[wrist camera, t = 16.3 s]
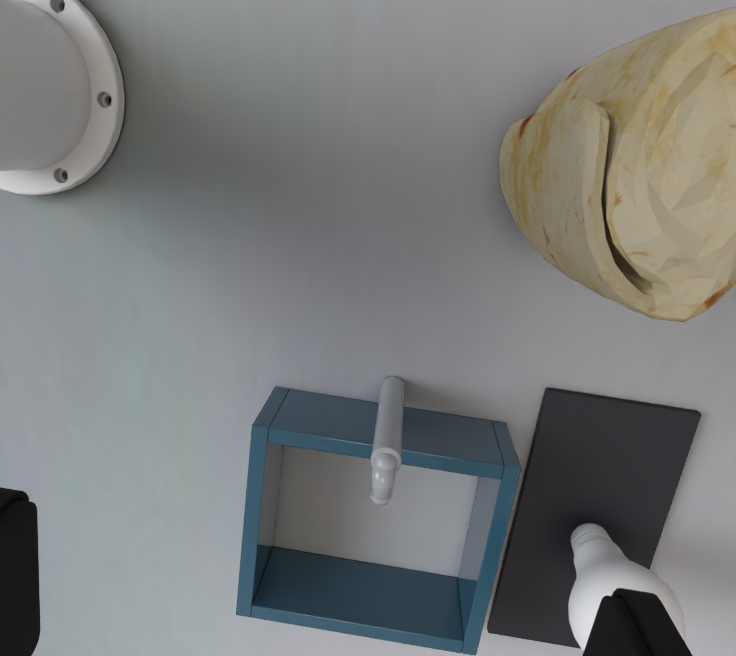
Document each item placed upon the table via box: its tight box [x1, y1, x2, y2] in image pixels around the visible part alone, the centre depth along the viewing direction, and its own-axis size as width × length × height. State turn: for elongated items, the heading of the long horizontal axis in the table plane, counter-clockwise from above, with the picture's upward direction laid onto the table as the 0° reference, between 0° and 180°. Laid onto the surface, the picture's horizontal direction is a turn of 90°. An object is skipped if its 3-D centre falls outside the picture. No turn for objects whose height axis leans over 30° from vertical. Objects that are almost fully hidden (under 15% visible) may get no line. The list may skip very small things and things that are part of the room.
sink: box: [236, 377, 521, 655], centre depth 37 cm, size 16×16×11 cm
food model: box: [499, 8, 736, 322], centre depth 25 cm, size 10×7×20 cm
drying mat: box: [487, 388, 701, 648], centre depth 41 cm, size 10×20×1 cm, turn 172°
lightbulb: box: [568, 523, 685, 652], centre depth 36 cm, size 6×6×11 cm
